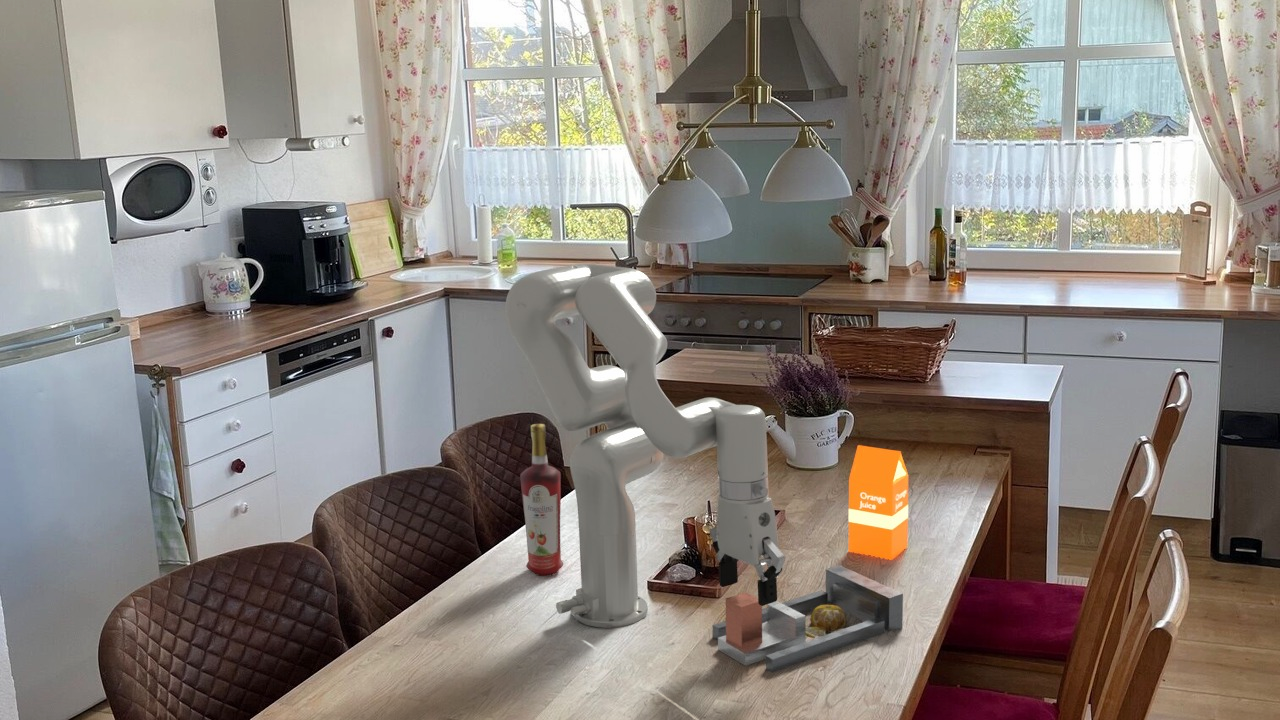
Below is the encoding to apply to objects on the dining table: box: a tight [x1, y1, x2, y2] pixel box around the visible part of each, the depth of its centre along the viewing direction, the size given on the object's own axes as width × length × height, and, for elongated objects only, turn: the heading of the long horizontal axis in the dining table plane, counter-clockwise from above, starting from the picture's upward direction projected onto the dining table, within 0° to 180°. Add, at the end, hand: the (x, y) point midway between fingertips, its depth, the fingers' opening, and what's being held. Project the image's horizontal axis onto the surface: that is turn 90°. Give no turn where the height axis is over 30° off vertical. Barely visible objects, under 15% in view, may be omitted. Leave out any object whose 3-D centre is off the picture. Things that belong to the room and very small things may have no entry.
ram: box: [717, 592, 807, 667], centre depth 194 cm, size 12×7×9 cm, turn 123°
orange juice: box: [848, 444, 909, 561], centre depth 232 cm, size 8×9×20 cm
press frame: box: [712, 564, 904, 673], centre depth 199 cm, size 27×15×6 cm, turn 123°
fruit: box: [806, 604, 847, 639], centre depth 201 cm, size 8×8×4 cm
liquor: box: [519, 423, 564, 577], centre depth 226 cm, size 7×7×28 cm
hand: (747, 593), depth 190 cm, fingers open, 9 cm apart
